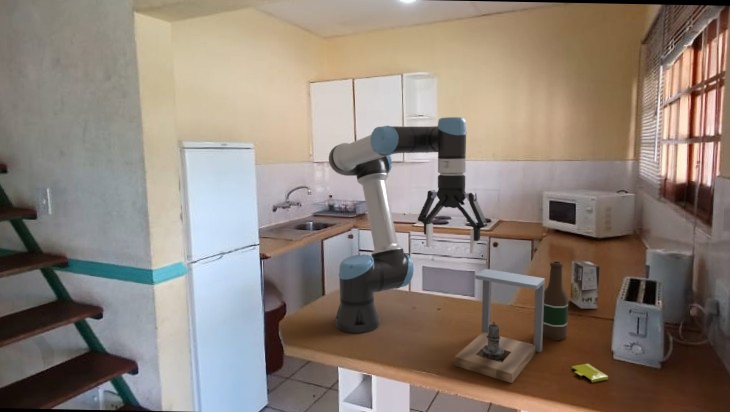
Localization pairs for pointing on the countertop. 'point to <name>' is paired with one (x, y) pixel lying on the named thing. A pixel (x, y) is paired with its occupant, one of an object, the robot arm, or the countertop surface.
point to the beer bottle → (555, 305)
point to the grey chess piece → (493, 344)
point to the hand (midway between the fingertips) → (450, 249)
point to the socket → (507, 370)
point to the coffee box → (584, 284)
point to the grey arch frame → (518, 281)
